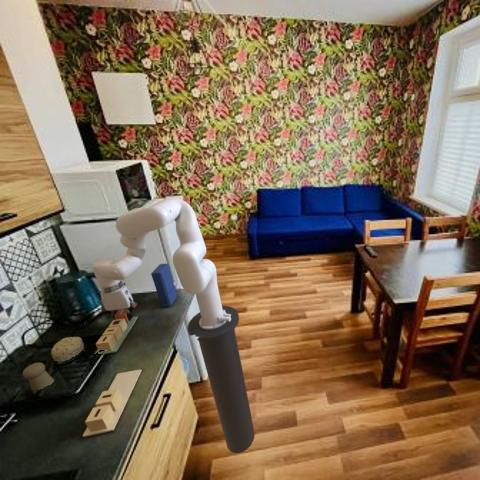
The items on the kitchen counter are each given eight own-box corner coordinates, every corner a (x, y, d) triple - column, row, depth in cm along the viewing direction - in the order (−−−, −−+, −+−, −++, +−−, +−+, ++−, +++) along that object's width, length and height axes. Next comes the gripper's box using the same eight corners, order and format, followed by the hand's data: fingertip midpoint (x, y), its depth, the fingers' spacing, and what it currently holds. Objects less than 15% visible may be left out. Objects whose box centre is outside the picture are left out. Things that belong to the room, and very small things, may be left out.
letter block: (128, 322, 122) (125, 314, 120) (117, 324, 121) (113, 315, 119) (132, 316, 126) (129, 308, 124) (121, 317, 125) (118, 309, 123)
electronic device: (168, 296, 143) (158, 263, 135) (178, 295, 143) (169, 263, 135) (160, 307, 134) (149, 273, 126) (171, 306, 134) (161, 272, 126)
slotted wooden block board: (113, 430, 80) (107, 419, 78) (83, 437, 78) (76, 426, 76) (141, 370, 100) (137, 360, 97) (118, 374, 98) (113, 364, 96)
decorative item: (68, 372, 104) (77, 356, 101) (40, 363, 101) (48, 345, 98) (85, 353, 112) (94, 338, 110) (60, 344, 109) (68, 328, 107)
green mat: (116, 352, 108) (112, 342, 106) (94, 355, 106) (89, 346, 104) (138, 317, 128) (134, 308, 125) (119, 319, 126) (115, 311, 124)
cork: (55, 379, 97) (41, 356, 92) (59, 387, 94) (46, 364, 89) (32, 391, 92) (17, 368, 88) (36, 401, 89) (20, 377, 85)
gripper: (136, 279, 121) (147, 311, 128) (94, 284, 118) (108, 317, 125) (129, 288, 114) (141, 322, 122) (84, 294, 111) (99, 328, 118)
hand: (124, 319), depth 123 cm, fingers closed on letter block, 4 cm apart
